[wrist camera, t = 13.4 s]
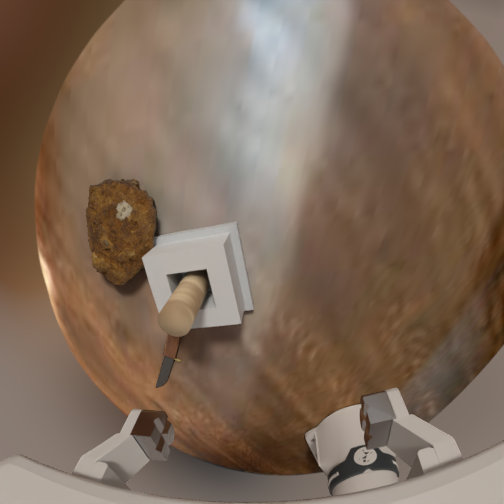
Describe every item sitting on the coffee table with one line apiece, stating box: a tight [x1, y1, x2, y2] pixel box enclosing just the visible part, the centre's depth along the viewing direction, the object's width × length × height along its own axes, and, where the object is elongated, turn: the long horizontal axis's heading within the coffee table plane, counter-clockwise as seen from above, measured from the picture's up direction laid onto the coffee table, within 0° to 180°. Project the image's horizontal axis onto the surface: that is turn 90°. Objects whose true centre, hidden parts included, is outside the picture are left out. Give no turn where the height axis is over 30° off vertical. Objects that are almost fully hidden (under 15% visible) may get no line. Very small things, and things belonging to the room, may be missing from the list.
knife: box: [156, 334, 181, 388], centre depth 46 cm, size 17×1×3 cm
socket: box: [142, 222, 254, 329], centre depth 38 cm, size 12×12×6 cm
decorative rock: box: [86, 179, 157, 285], centre depth 39 cm, size 11×4×15 cm
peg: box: [158, 269, 210, 337], centre depth 34 cm, size 3×3×12 cm
